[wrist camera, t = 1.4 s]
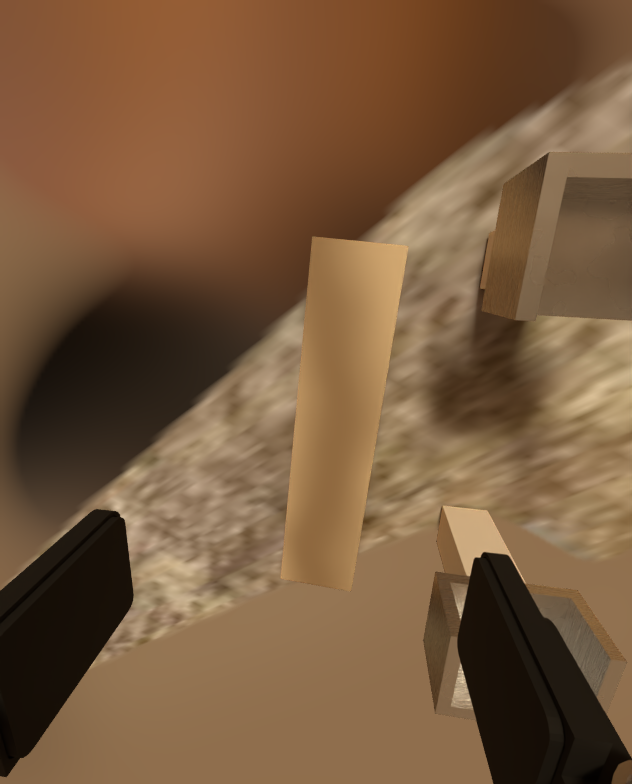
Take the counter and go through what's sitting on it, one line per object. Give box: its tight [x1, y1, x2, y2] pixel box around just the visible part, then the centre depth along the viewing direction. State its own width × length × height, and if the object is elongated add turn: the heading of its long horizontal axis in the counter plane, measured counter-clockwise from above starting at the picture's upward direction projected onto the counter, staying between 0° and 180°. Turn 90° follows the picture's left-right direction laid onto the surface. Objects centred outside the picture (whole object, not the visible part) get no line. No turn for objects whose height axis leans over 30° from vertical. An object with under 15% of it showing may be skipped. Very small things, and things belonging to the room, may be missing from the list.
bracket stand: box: [423, 152, 632, 720], centre depth 18 cm, size 7×22×11 cm, turn 177°
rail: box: [281, 237, 408, 591], centre depth 22 cm, size 4×18×7 cm, turn 174°
